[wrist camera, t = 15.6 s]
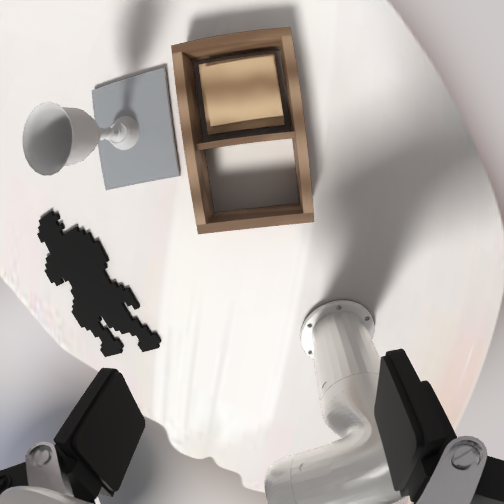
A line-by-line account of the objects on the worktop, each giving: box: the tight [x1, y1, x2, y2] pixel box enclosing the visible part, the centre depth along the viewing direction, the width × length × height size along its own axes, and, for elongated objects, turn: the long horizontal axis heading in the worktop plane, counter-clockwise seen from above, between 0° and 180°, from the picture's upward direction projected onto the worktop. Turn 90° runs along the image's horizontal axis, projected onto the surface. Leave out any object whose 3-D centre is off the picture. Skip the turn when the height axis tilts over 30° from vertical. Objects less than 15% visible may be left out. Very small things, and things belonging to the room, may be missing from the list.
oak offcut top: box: [201, 56, 283, 127], centre depth 35 cm, size 8×9×2 cm
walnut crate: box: [171, 27, 314, 234], centre depth 37 cm, size 24×14×6 cm, turn 7°
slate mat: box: [92, 68, 180, 190], centre depth 40 cm, size 16×12×1 cm
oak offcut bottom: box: [199, 54, 285, 135], centre depth 37 cm, size 10×10×2 cm
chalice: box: [23, 102, 140, 175], centre depth 31 cm, size 7×7×18 cm
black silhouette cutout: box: [37, 211, 161, 357], centre depth 50 cm, size 16×1×30 cm
